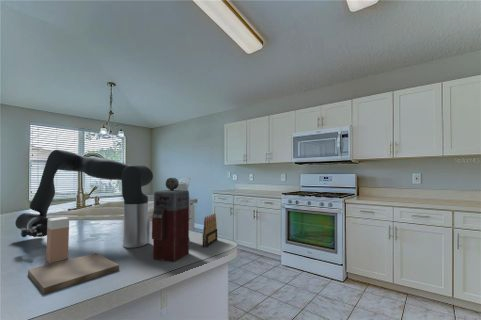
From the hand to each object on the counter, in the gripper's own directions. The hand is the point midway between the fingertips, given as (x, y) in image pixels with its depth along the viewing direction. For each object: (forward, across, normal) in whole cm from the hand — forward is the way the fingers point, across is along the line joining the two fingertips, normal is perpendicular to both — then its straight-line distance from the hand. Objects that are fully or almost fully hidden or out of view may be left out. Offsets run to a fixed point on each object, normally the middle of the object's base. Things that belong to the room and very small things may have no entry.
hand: (50, 231), depth 87 cm
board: (+28, 0, +8) cm, 29 cm away
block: (+10, 0, +8) cm, 12 cm away
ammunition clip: (+40, +45, +8) cm, 61 cm away
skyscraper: (+28, +39, +9) cm, 49 cm away
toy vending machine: (+40, +25, +8) cm, 48 cm away
